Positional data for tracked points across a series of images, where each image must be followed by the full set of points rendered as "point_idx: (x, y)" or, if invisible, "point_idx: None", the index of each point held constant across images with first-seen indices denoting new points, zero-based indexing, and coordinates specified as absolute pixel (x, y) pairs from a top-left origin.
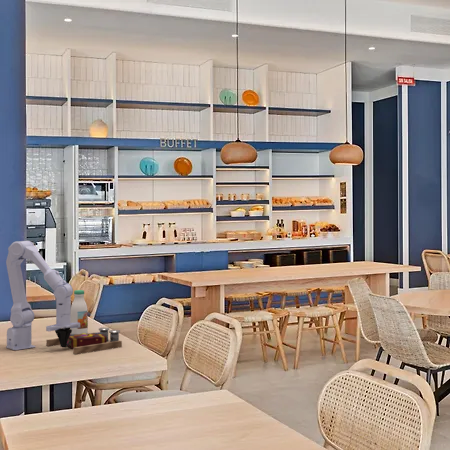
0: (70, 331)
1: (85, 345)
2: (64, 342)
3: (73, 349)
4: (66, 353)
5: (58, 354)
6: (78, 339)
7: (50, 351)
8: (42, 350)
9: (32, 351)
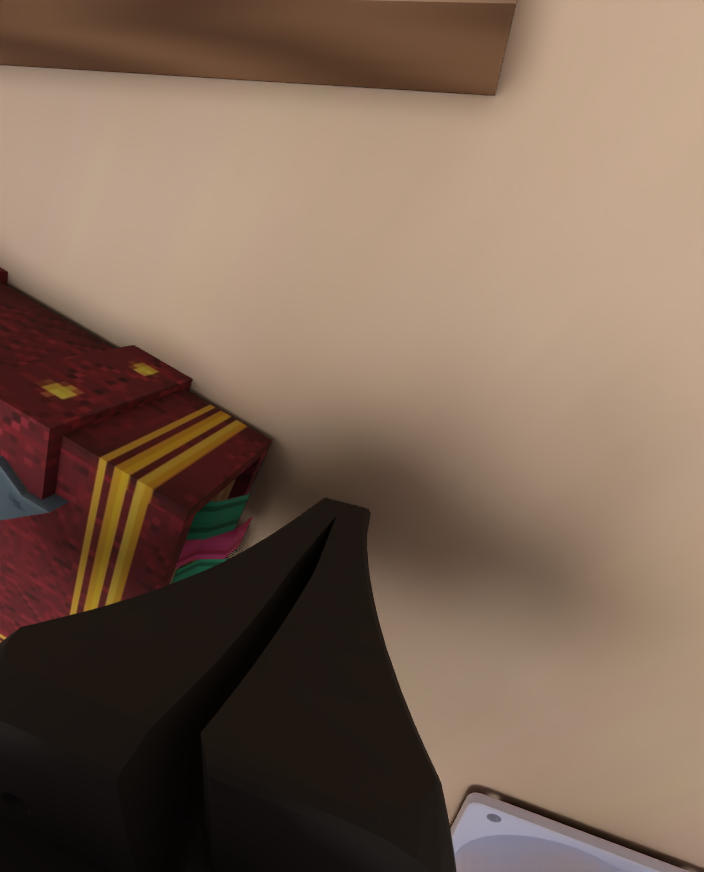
0: (41, 660)
1: (77, 348)
2: (338, 541)
3: (512, 17)
4: (526, 259)
5: (687, 306)
6: (75, 437)
7: (541, 569)
8: (546, 675)
9: (668, 736)
